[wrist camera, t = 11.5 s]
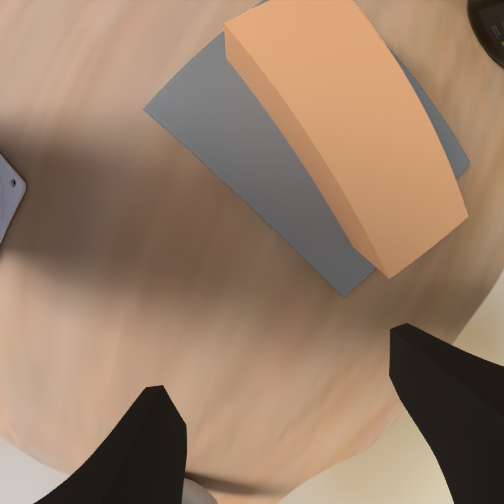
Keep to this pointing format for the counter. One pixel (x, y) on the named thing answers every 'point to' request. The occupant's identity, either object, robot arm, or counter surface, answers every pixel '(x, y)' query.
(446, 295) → the counter surface
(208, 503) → the donut
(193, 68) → the post board
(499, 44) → the supplement bottle
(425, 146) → the rectangular block
